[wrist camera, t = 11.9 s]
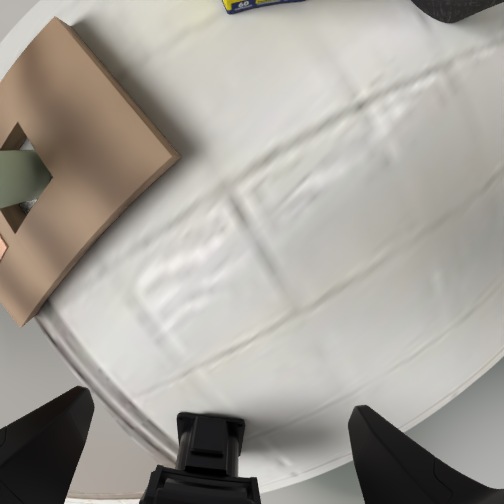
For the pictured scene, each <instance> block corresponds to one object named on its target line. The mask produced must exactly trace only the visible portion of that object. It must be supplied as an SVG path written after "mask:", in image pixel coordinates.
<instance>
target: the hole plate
mask: <svg viewBox="0 0 504 504" xmlns="http://www.w3.org/2000/svg"><path fill="white" fill-rule="evenodd" d="M26 138H28V139H29V141H30V143H31V144H32V146H33V147H34V149H35V150H36V152H37V154H38V155H39V157H40V158H41V160H42V161H43V163H44V164H45V166H46V167H47V169H48V170H49V172H50V173H51V175H52V176H53V178H52V180H51V181H50V183H49V184H48V185H47V187H46V188H45V189H44V191H43V192H42V194H41V195H40V197H39V198H38V199H37V201H36V202H35V204H34V205H33V207H32V208H31V210H30V211H29V213H28V214H27V216H26V215H25V214H24V212H23V211H22V209H21V208H20V206H19V204H15V205H11V206H7V207H4V208H0V302H1V303H2V304H3V306H4V307H5V308H6V310H7V311H8V312H9V314H10V315H11V316H12V318H13V319H14V320H15V321H16V323H17V324H18V325H19V326H20V328H21V327H23V326H24V325H25V324H26V323H27V322H28V321H29V320H30V319H32V318H33V317H34V316H35V315H36V314H37V312H38V311H39V309H40V308H41V307H42V305H43V304H44V303H45V301H46V300H47V299H48V298H49V296H50V295H51V294H52V292H53V291H54V290H55V289H56V287H57V286H58V285H59V284H60V282H61V281H62V280H63V279H64V277H65V276H66V275H67V274H68V273H69V271H70V270H71V269H72V268H73V267H74V265H75V264H76V263H77V262H78V261H79V260H80V258H81V257H82V256H83V255H84V254H85V253H86V251H87V250H88V249H89V248H90V247H91V246H92V245H93V244H94V243H95V241H96V240H97V239H98V238H99V237H100V236H101V235H102V234H103V233H104V232H105V231H106V229H107V228H108V227H109V226H110V225H111V224H112V223H113V222H114V221H115V220H116V219H117V218H118V217H119V216H120V215H121V214H122V213H123V212H124V211H125V210H126V209H127V208H128V207H129V206H130V205H131V204H132V203H133V202H134V201H135V200H136V199H137V198H138V197H139V196H140V195H141V194H142V193H143V192H144V191H145V190H146V189H147V188H148V187H149V186H150V185H151V184H153V183H154V182H155V181H156V180H157V179H158V178H159V177H160V176H161V175H162V174H163V173H164V172H166V171H167V170H168V169H169V168H170V167H171V166H172V165H173V164H175V163H176V162H177V161H178V160H179V159H180V158H181V157H180V155H179V154H178V153H177V152H176V151H175V149H174V148H173V147H172V146H171V145H170V143H169V142H168V141H167V140H166V139H165V138H164V136H163V135H162V134H161V133H160V132H159V130H158V129H157V128H156V127H155V126H154V124H153V123H152V122H151V121H150V120H149V119H148V117H147V116H146V115H145V114H144V113H143V111H142V110H141V109H140V108H139V107H138V105H137V104H136V103H135V102H134V101H133V100H132V98H131V97H130V96H129V95H128V94H127V92H126V91H125V90H124V89H123V88H122V87H121V85H120V84H119V83H118V82H117V81H116V79H115V78H114V77H113V76H112V75H111V74H110V72H109V71H108V70H107V69H106V68H105V67H104V65H103V64H102V63H101V62H100V61H99V59H98V58H97V57H96V56H95V55H94V54H93V52H92V51H91V50H90V49H89V48H88V47H87V45H86V44H85V43H84V42H83V41H82V40H81V38H80V37H79V36H78V35H77V34H76V33H75V31H74V30H73V29H72V28H71V27H70V26H69V25H67V24H66V23H64V22H63V21H61V20H60V19H58V18H57V17H54V18H53V19H52V20H51V21H50V22H49V23H48V24H47V25H46V26H45V27H44V28H43V29H42V30H41V32H40V33H39V34H38V35H37V36H36V37H35V38H34V39H33V41H32V42H31V43H30V44H29V45H28V46H27V48H26V49H25V50H24V51H23V53H22V54H21V55H20V56H19V58H18V59H17V60H16V61H15V63H14V64H13V65H12V67H11V68H10V69H9V71H8V72H7V74H6V75H5V76H4V78H3V79H2V81H1V82H0V151H11V150H19V148H20V147H21V145H22V144H23V142H24V141H25V139H26Z"/></svg>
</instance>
